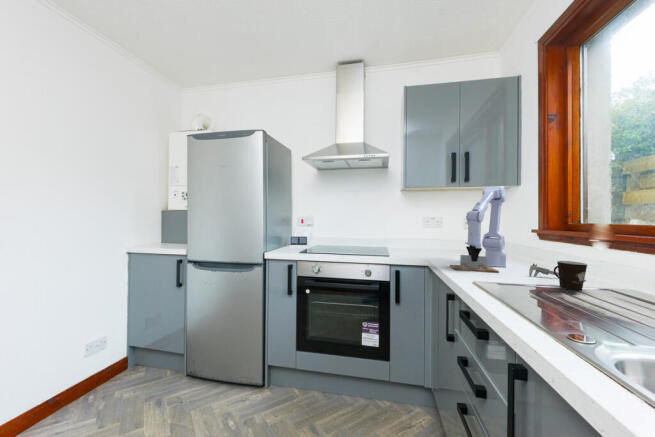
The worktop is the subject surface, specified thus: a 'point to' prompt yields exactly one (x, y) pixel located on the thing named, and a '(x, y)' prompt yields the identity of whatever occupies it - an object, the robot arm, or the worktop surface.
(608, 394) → the worktop surface
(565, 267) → the coffee mug
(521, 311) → the worktop surface
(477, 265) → the door panel
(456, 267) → the hinge board
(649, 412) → the worktop surface
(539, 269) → the caliper
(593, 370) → the worktop surface
